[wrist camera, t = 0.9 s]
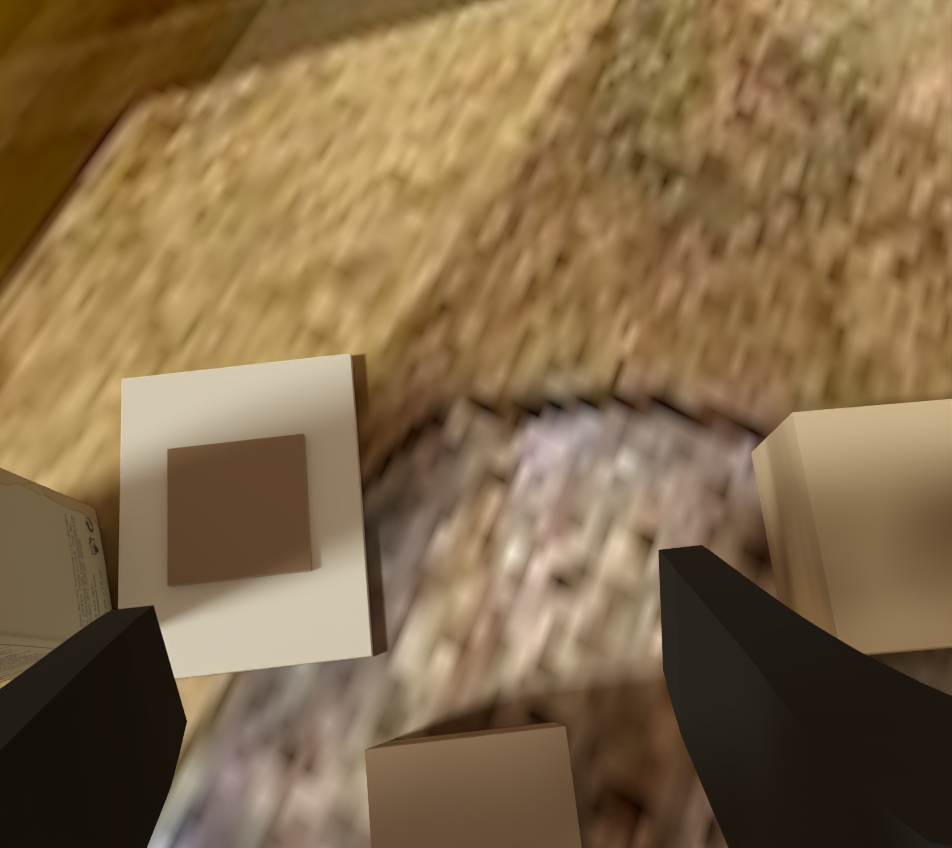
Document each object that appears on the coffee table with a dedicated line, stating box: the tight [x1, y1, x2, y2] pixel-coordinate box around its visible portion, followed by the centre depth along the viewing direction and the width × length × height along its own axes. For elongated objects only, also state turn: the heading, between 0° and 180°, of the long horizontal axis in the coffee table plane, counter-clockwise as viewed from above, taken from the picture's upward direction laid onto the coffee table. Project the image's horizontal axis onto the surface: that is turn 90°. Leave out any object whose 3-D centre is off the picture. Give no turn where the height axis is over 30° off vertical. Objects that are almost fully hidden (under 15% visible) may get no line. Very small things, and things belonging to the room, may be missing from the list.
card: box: [118, 354, 374, 679], centre depth 25 cm, size 9×7×1 cm
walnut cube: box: [365, 722, 582, 848], centre depth 21 cm, size 4×4×4 cm
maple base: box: [751, 399, 952, 655], centre depth 23 cm, size 6×6×4 cm
